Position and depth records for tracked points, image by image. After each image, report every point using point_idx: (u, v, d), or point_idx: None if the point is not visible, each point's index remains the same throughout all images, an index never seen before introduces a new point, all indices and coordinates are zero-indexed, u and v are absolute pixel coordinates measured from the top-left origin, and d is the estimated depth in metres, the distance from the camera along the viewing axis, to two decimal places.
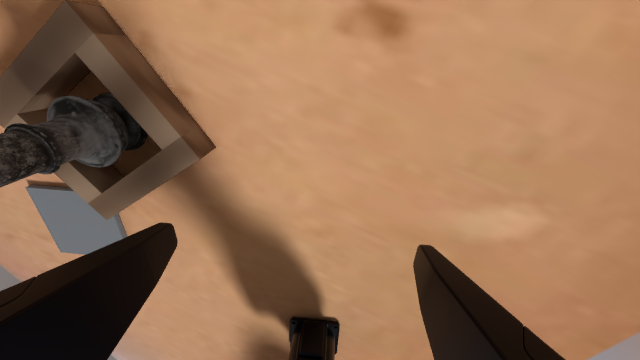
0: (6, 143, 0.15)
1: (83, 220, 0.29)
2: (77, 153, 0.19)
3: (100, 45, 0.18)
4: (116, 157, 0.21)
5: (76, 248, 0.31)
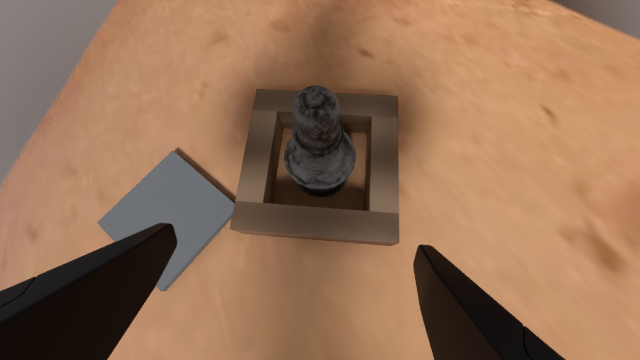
0: None
1: (178, 212, 0.23)
2: (325, 160, 0.19)
3: (395, 125, 0.22)
4: (326, 187, 0.20)
5: (121, 232, 0.23)
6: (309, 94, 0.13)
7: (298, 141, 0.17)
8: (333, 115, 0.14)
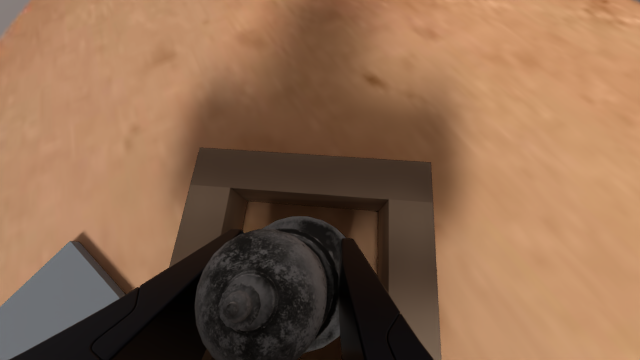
0: (325, 278, 0.07)
1: None
2: None
3: (429, 216, 0.13)
4: (307, 350, 0.11)
5: None
6: (222, 313, 0.04)
7: None
8: (304, 341, 0.05)
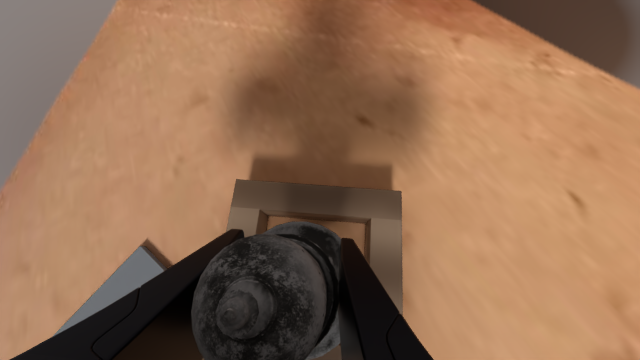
0: (324, 284, 0.06)
1: None
2: None
3: (399, 230, 0.19)
4: (306, 358, 0.11)
5: None
6: (220, 320, 0.04)
7: None
8: (303, 349, 0.05)
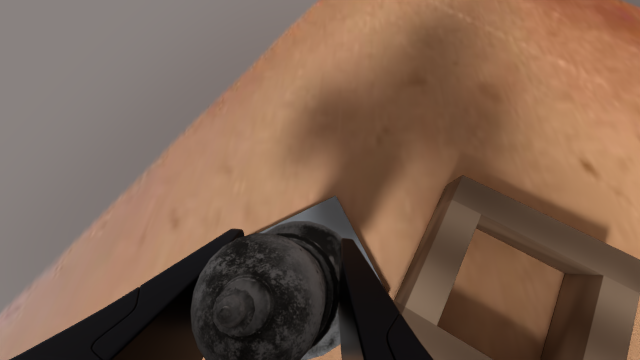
0: (323, 283, 0.07)
1: None
2: None
3: (634, 302, 0.17)
4: (308, 357, 0.11)
5: None
6: (216, 318, 0.04)
7: None
8: (300, 347, 0.05)
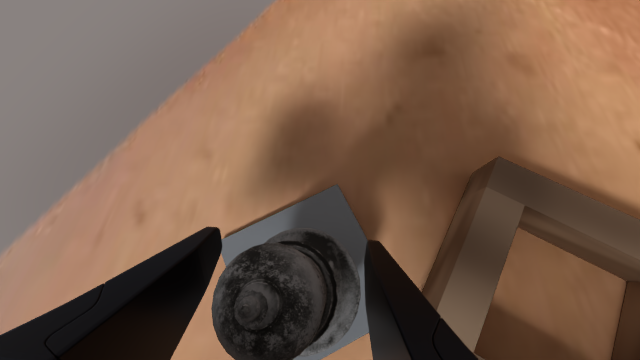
0: (323, 286, 0.08)
1: None
2: None
3: None
4: (309, 354, 0.12)
5: None
6: (237, 314, 0.05)
7: None
8: (304, 338, 0.06)
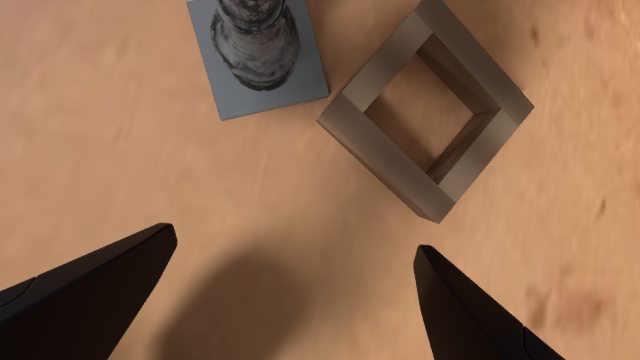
0: None
1: None
2: (257, 43, 0.15)
3: (511, 131, 0.22)
4: (256, 79, 0.17)
5: (207, 32, 0.20)
6: None
7: (220, 2, 0.13)
8: None
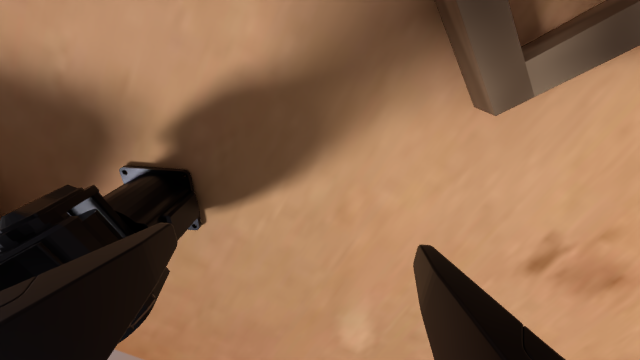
0: None
1: None
2: None
3: None
4: None
5: None
6: None
7: None
8: None
